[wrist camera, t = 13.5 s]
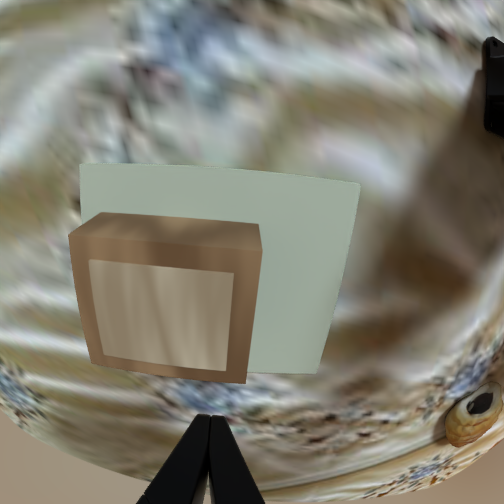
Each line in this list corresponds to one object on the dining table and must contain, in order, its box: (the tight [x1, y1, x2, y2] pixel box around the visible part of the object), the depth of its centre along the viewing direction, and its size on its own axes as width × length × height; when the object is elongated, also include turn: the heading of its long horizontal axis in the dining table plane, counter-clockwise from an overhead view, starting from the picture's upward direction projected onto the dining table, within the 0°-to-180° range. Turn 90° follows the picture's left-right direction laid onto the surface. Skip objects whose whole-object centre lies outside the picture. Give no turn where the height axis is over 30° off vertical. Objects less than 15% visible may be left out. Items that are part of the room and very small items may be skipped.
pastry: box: [445, 382, 503, 447], centre depth 22 cm, size 9×7×4 cm
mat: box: [80, 163, 361, 374], centre depth 16 cm, size 14×12×1 cm
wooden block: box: [68, 212, 263, 384], centre depth 14 cm, size 4×7×8 cm
